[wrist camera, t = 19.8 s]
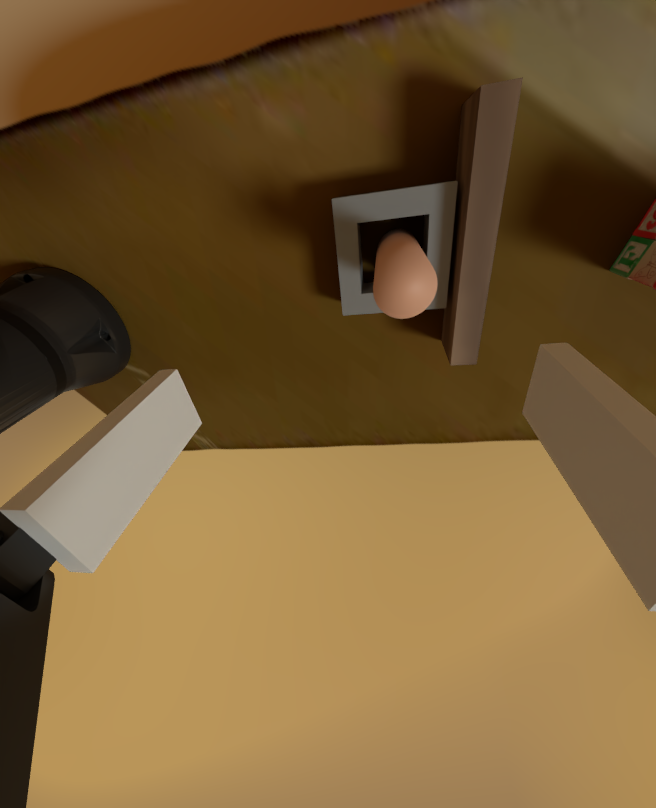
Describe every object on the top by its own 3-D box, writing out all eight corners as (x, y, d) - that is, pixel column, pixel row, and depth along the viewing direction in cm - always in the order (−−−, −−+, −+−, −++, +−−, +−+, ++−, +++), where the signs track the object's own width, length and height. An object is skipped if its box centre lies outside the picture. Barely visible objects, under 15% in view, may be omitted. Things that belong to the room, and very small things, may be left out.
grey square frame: (346, 303, 35) (342, 315, 32) (337, 197, 29) (331, 198, 26) (439, 296, 33) (446, 308, 30) (449, 181, 27) (457, 180, 24)
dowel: (368, 251, 32) (360, 288, 20) (399, 218, 30) (409, 238, 18) (394, 280, 33) (400, 330, 21) (426, 250, 31) (450, 287, 19)
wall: (441, 340, 36) (450, 365, 31) (462, 105, 25) (481, 85, 20) (463, 339, 35) (476, 364, 30) (494, 98, 24) (522, 77, 19)
